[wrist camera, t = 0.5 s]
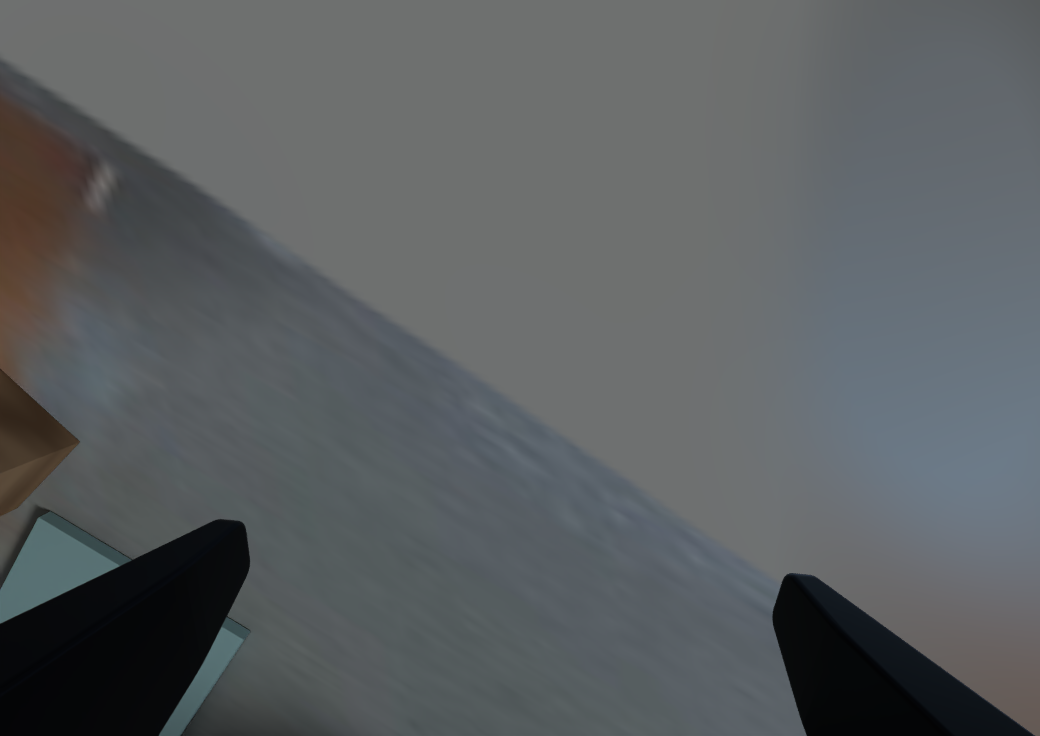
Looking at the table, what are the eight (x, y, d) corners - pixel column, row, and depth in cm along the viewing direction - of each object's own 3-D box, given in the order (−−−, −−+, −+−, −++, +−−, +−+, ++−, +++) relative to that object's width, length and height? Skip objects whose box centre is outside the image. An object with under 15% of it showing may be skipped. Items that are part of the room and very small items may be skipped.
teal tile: (250, 631, 26) (244, 639, 25) (153, 776, 28) (145, 788, 27) (50, 511, 25) (38, 517, 24) (-35, 670, 27) (-48, 680, 26)
